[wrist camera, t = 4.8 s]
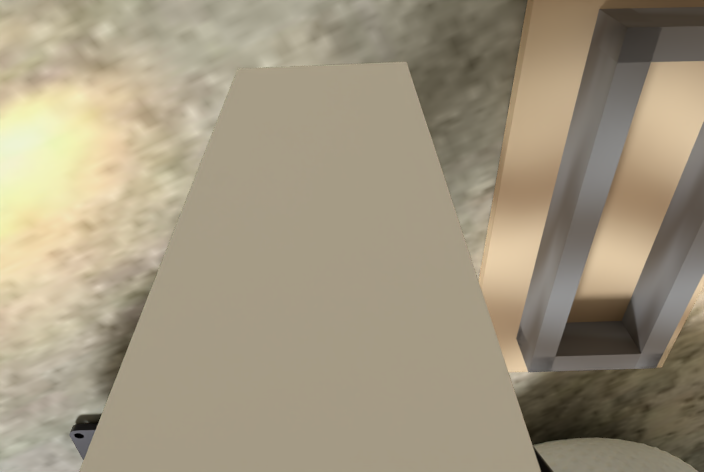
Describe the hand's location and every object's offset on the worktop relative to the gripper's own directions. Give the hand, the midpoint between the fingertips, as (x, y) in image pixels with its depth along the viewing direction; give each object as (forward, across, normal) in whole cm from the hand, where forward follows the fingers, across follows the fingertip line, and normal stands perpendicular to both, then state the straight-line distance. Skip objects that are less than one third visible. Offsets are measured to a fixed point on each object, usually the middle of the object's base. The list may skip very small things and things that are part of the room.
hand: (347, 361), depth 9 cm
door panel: (+2, 0, 0) cm, 2 cm away
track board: (+12, -11, +5) cm, 17 cm away
